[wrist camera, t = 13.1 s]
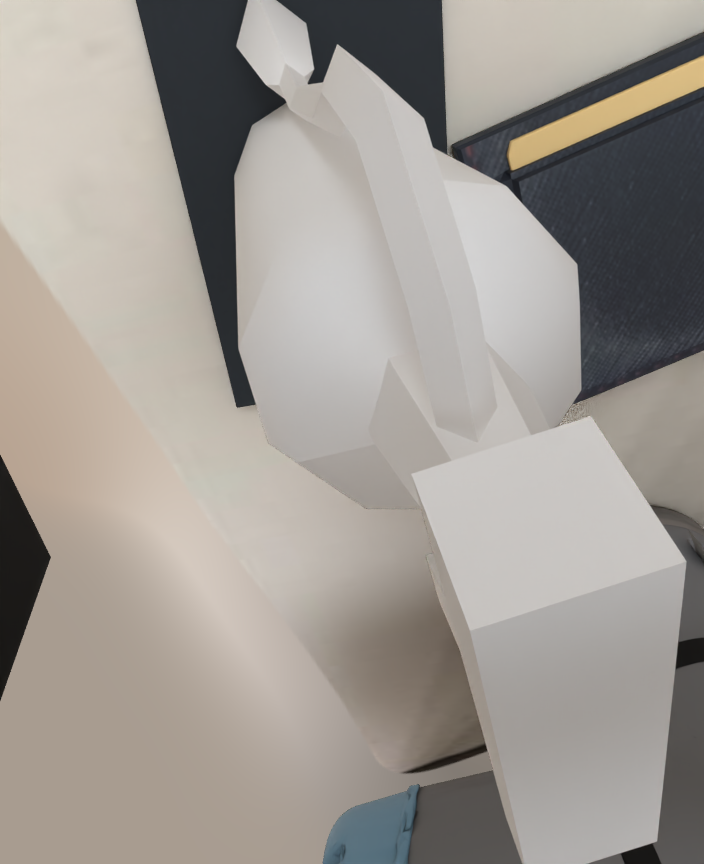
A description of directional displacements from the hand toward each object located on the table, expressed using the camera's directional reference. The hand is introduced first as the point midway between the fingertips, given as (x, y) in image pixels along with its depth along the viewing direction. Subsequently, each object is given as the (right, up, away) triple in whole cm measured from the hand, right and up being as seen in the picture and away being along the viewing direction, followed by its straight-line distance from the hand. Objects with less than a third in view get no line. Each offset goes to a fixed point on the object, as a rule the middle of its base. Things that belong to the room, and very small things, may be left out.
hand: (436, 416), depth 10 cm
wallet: (+14, +10, +21) cm, 27 cm away
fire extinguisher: (-3, +11, +17) cm, 20 cm away
